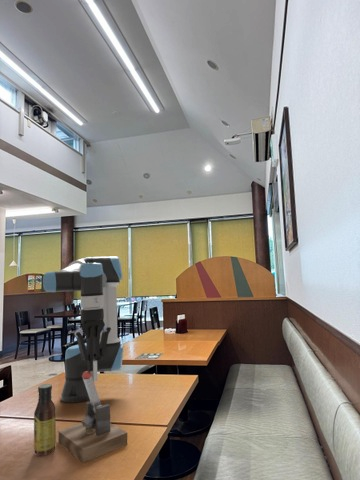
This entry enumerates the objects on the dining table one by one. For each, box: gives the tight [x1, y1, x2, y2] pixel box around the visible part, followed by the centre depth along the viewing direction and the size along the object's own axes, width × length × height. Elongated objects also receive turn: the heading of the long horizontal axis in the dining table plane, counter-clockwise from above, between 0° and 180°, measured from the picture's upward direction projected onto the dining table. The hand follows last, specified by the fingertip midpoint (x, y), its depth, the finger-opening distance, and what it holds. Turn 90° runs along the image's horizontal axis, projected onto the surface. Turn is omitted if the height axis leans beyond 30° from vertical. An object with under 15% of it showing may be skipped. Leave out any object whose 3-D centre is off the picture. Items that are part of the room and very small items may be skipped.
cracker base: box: [57, 401, 129, 464], centre depth 107 cm, size 18×15×12 cm
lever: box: [80, 371, 103, 430], centre depth 107 cm, size 4×7×16 cm, turn 133°
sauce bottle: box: [33, 383, 57, 457], centre depth 103 cm, size 7×6×20 cm
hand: (93, 380), depth 109 cm, fingers closed
